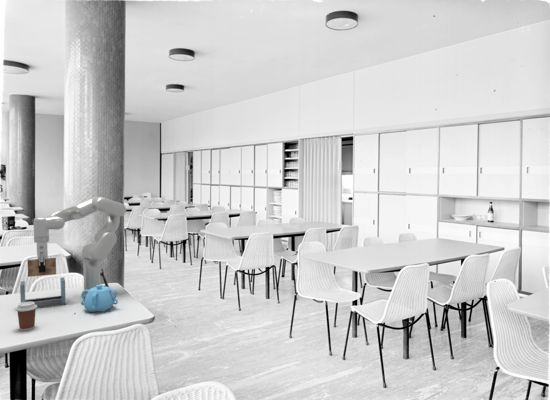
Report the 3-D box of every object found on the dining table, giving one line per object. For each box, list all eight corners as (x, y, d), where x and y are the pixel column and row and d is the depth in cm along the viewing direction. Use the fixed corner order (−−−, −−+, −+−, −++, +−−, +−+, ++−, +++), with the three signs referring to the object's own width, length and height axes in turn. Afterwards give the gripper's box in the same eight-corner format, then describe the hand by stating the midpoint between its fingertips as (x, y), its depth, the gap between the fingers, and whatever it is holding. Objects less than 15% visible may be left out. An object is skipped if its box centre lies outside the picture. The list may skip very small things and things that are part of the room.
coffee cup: (35, 323, 221) (34, 299, 220) (39, 328, 214) (39, 303, 214) (14, 327, 215) (13, 303, 214) (18, 332, 208) (17, 307, 208)
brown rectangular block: (56, 273, 256) (55, 257, 255) (56, 274, 253) (55, 258, 252) (28, 275, 249) (27, 259, 249) (27, 276, 247) (27, 260, 246)
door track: (64, 300, 260) (64, 277, 259) (65, 304, 252) (65, 280, 251) (21, 306, 250) (20, 281, 249) (21, 310, 242) (20, 285, 241)
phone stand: (108, 285, 295) (108, 268, 294) (108, 288, 290) (108, 269, 289) (93, 287, 292) (93, 269, 291) (93, 289, 286) (93, 271, 285)
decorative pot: (79, 309, 245) (78, 285, 244) (107, 303, 256) (107, 280, 255) (90, 316, 233) (89, 290, 232) (120, 309, 244) (119, 285, 243)
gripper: (48, 240, 244) (49, 273, 245) (49, 237, 259) (49, 268, 260) (33, 241, 241) (34, 275, 242) (34, 237, 256) (35, 269, 257)
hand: (42, 271), depth 251 cm, fingers closed on brown rectangular block, 3 cm apart
